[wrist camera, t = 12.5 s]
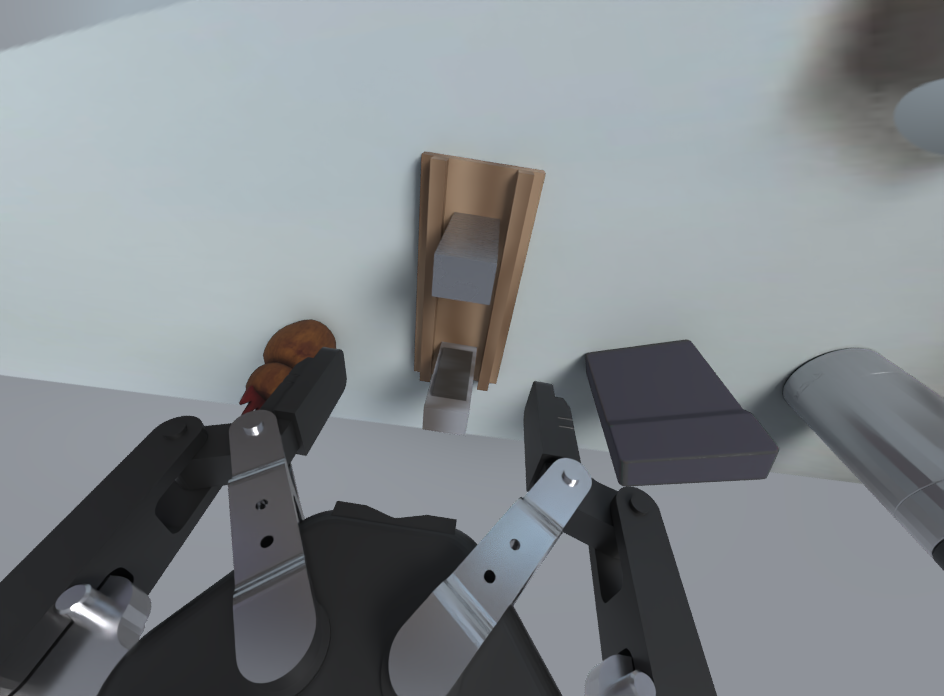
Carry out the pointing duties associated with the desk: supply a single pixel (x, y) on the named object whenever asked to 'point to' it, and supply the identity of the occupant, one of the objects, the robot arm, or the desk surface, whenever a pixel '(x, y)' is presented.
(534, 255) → the desk surface
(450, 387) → the rail
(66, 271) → the desk surface
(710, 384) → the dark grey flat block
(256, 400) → the wooden figurine
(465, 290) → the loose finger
